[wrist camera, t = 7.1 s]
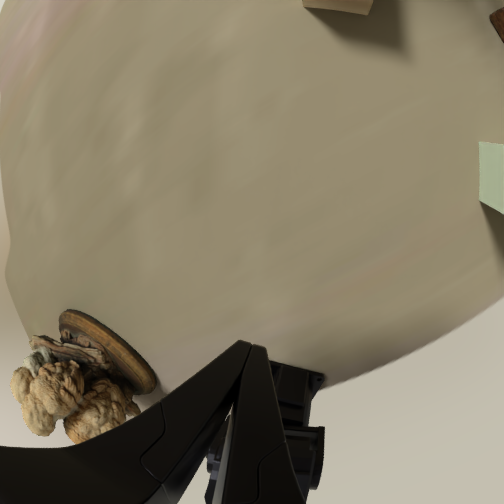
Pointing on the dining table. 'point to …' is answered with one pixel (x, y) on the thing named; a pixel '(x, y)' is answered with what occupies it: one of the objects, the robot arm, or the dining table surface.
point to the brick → (498, 21)
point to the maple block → (341, 5)
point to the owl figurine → (80, 379)
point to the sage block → (492, 175)
